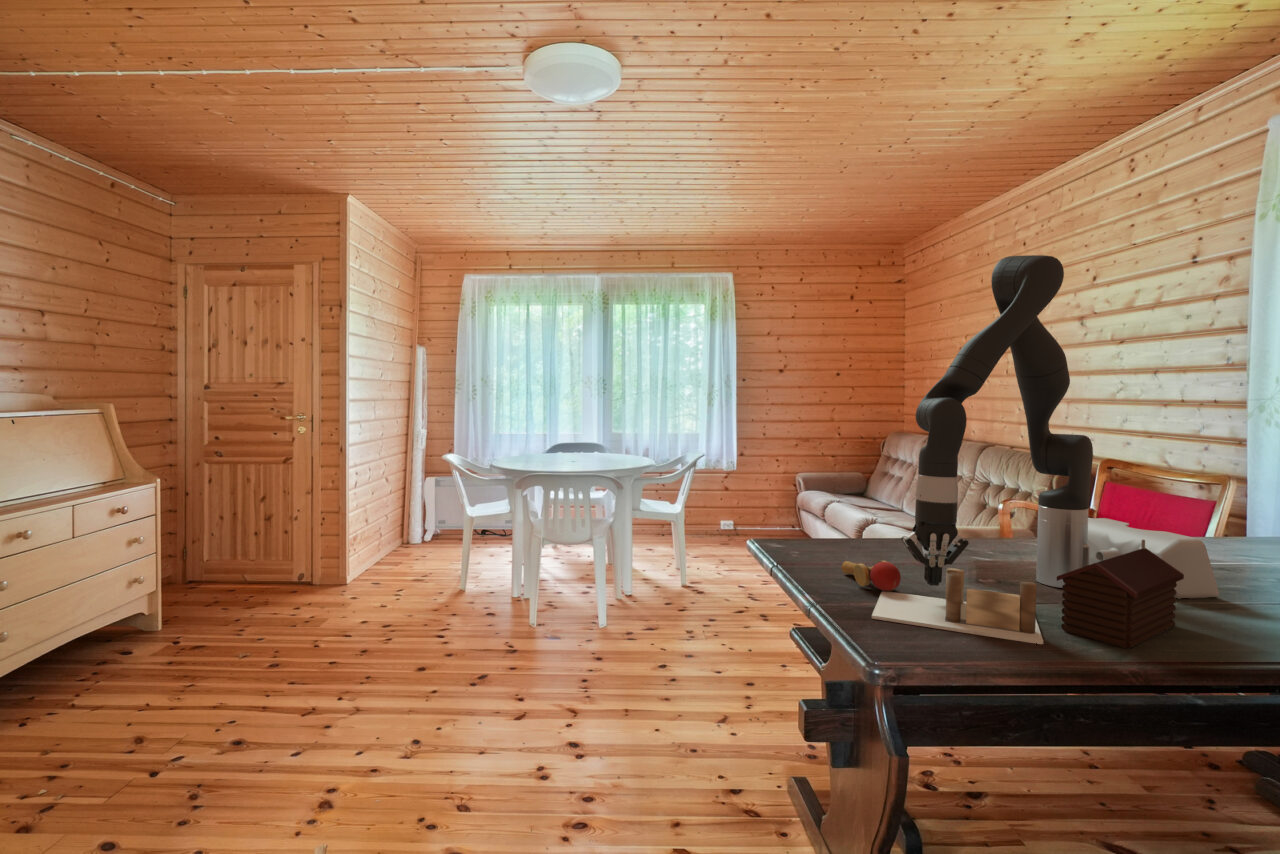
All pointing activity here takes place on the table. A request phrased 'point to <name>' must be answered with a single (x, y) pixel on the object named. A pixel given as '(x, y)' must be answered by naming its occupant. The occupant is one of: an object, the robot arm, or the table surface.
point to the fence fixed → (993, 606)
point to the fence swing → (961, 572)
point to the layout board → (939, 616)
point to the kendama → (874, 574)
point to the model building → (1121, 598)
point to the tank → (1156, 553)
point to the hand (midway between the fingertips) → (932, 584)
